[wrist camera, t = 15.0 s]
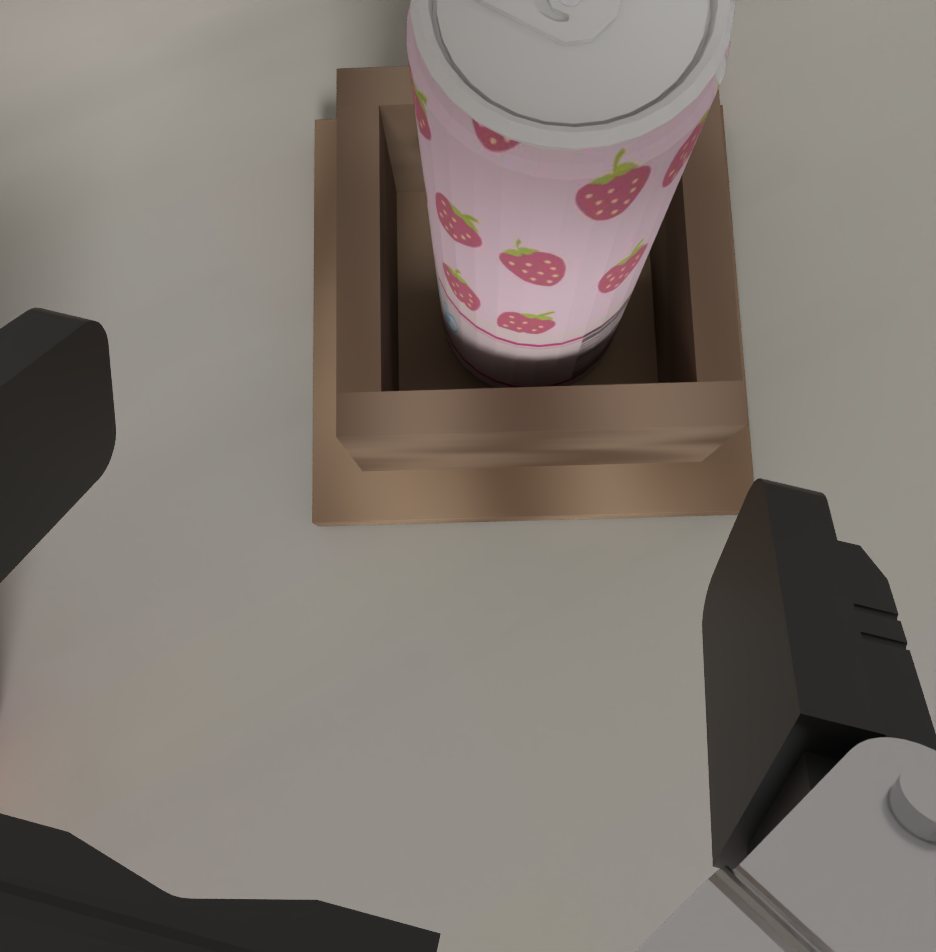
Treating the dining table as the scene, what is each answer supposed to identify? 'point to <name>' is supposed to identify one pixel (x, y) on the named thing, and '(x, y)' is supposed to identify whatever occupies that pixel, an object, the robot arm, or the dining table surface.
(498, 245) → the beverage can
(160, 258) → the dining table surface
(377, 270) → the can socket
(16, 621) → the dining table surface
